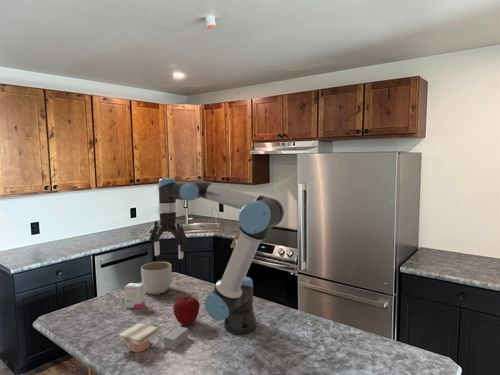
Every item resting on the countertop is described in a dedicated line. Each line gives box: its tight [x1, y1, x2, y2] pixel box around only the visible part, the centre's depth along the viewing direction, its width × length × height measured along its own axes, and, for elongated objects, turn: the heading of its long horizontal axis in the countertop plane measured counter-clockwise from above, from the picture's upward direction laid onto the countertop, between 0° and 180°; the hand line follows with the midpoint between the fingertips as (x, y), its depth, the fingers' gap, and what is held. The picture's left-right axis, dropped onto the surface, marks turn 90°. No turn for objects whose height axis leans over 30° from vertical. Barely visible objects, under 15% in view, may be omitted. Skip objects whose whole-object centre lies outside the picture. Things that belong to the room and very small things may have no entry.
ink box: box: [124, 282, 145, 310], centre depth 177 cm, size 9×5×12 cm, turn 80°
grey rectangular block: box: [163, 326, 189, 350], centre depth 142 cm, size 5×10×4 cm, turn 156°
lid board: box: [118, 322, 159, 345], centre depth 139 cm, size 11×11×2 cm
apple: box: [172, 295, 201, 327], centre depth 158 cm, size 12×12×13 cm
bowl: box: [128, 339, 151, 353], centre depth 139 cm, size 8×8×4 cm
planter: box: [140, 261, 172, 295], centre depth 197 cm, size 17×17×15 cm
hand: (168, 256), depth 157 cm, fingers open, 13 cm apart
